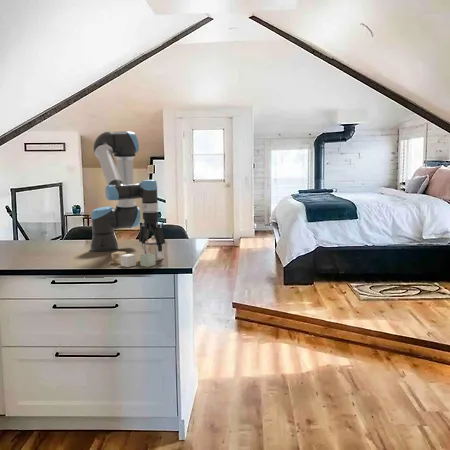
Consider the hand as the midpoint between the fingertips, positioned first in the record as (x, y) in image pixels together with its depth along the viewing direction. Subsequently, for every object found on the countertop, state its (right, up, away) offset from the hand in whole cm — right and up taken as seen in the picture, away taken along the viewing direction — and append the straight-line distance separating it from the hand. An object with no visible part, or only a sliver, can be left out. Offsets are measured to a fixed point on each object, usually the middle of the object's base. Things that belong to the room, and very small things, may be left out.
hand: (152, 256), depth 255 cm
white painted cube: (-10, -3, -11) cm, 15 cm away
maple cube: (-16, -3, -4) cm, 16 cm away
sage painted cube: (0, -3, -12) cm, 12 cm away
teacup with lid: (0, -2, 0) cm, 2 cm away
